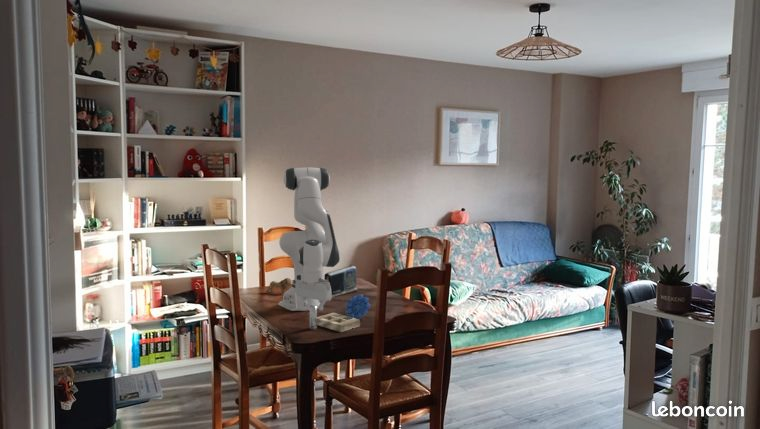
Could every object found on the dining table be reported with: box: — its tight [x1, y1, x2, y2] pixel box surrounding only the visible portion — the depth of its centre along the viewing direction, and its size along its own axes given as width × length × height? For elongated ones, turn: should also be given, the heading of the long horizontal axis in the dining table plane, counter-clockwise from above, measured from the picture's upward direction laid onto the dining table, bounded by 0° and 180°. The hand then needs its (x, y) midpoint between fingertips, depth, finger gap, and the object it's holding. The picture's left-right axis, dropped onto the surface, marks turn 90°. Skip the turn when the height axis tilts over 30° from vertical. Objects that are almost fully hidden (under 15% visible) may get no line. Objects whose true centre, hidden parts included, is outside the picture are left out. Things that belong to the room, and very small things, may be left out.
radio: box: [323, 264, 359, 298], centre depth 312 cm, size 23×9×15 cm, turn 132°
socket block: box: [317, 312, 361, 333], centre depth 254 cm, size 17×12×3 cm
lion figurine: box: [265, 277, 292, 295], centre depth 312 cm, size 15×5×9 cm, turn 81°
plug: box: [309, 305, 318, 330], centre depth 248 cm, size 3×3×10 cm
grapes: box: [345, 293, 371, 320], centre depth 264 cm, size 12×7×12 cm, turn 97°
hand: (313, 308), depth 247 cm, fingers open, 8 cm apart
